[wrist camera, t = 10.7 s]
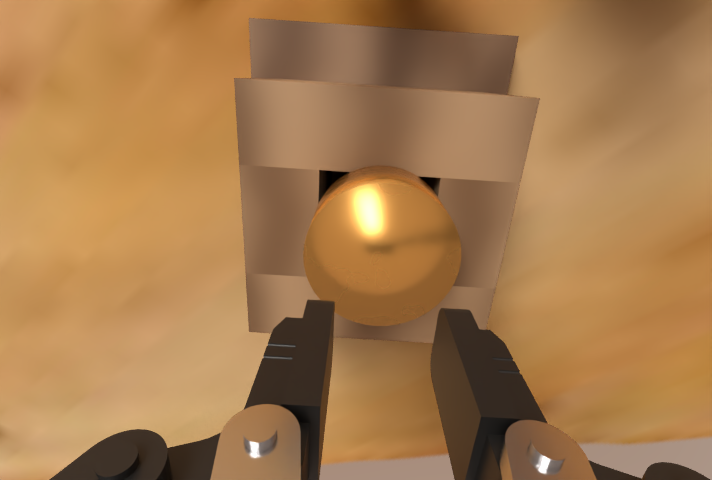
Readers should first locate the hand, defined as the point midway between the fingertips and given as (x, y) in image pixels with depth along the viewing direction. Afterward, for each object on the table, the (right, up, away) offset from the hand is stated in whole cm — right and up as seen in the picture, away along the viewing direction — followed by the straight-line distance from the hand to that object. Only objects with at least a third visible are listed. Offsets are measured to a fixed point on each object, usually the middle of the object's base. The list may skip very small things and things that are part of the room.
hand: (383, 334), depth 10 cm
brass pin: (0, +6, +13) cm, 15 cm away
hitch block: (0, +7, +16) cm, 17 cm away
